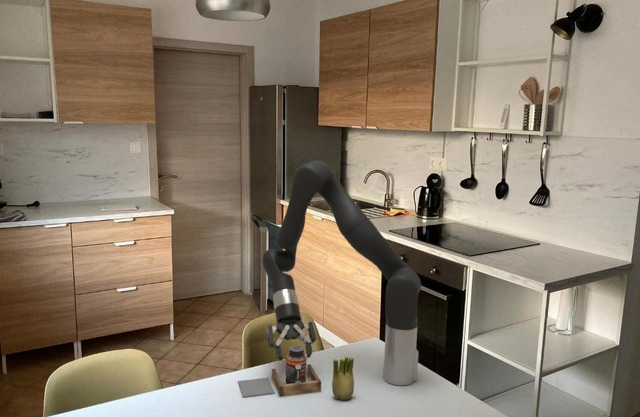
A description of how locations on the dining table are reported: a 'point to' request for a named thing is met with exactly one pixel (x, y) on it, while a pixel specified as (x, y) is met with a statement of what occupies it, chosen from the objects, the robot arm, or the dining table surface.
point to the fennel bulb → (343, 378)
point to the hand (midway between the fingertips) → (295, 358)
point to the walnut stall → (297, 384)
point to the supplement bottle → (296, 365)
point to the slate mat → (256, 387)
